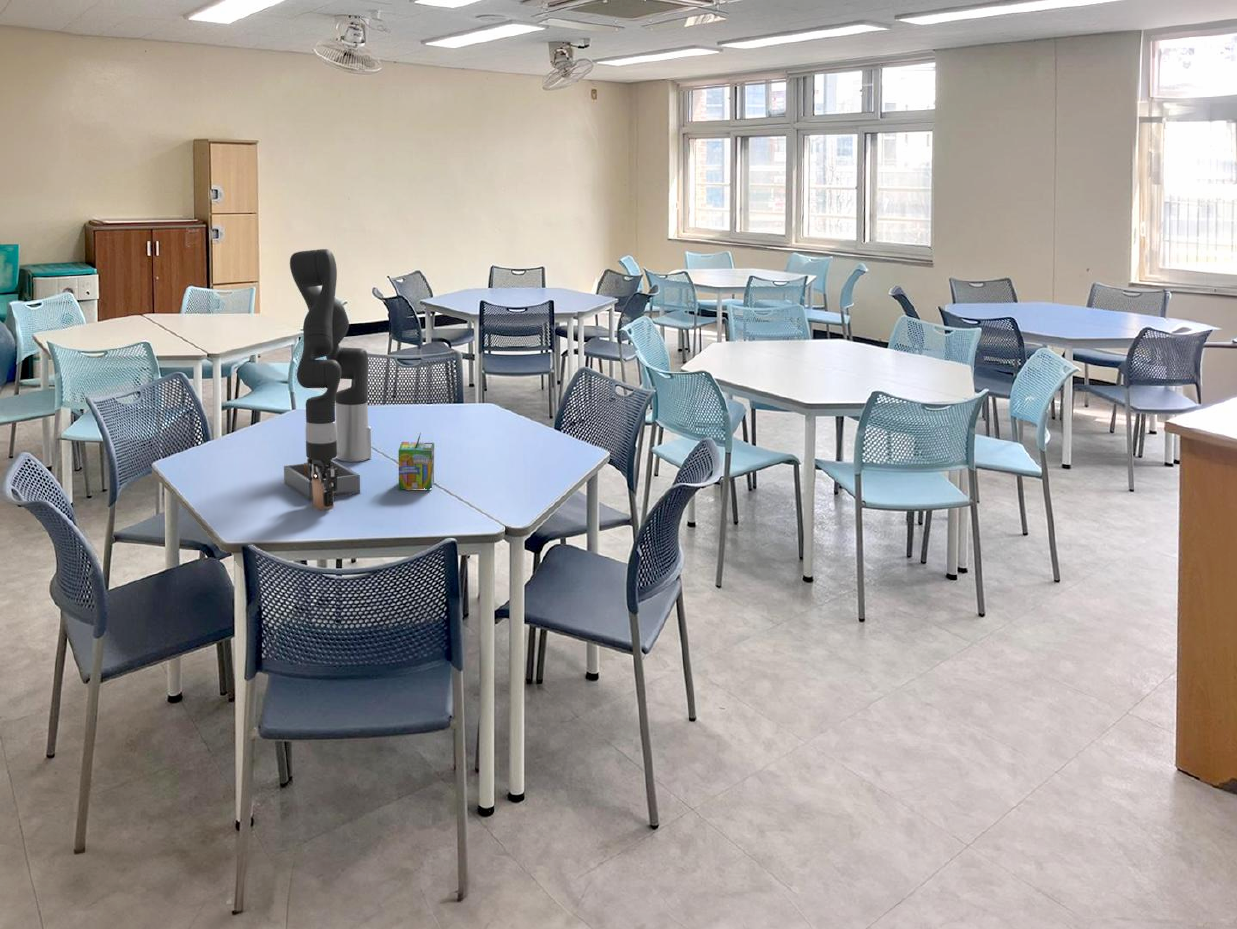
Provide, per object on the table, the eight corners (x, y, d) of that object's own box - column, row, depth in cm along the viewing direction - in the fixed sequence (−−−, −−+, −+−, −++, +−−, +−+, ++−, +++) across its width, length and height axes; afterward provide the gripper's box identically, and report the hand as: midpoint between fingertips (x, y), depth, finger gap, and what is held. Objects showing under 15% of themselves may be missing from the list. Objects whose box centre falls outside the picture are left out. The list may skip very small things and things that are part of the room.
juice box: (401, 481, 297) (400, 429, 293) (434, 482, 298) (434, 430, 294) (397, 490, 288) (396, 437, 284) (431, 491, 289) (431, 438, 285)
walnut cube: (329, 482, 289) (328, 464, 288) (311, 485, 286) (310, 467, 285) (322, 478, 293) (321, 460, 292) (304, 480, 290) (303, 463, 289)
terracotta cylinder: (328, 503, 274) (328, 476, 273) (336, 508, 271) (335, 481, 269) (310, 505, 272) (309, 479, 270) (317, 511, 268) (316, 484, 266)
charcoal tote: (333, 477, 298) (333, 460, 297) (360, 493, 284) (359, 475, 283) (284, 483, 290) (283, 466, 288) (309, 500, 276) (308, 481, 275)
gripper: (347, 443, 263) (348, 507, 267) (324, 431, 274) (326, 493, 278) (317, 446, 259) (319, 512, 263) (296, 434, 270) (298, 497, 274)
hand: (323, 502), depth 271 cm, fingers open, 6 cm apart
